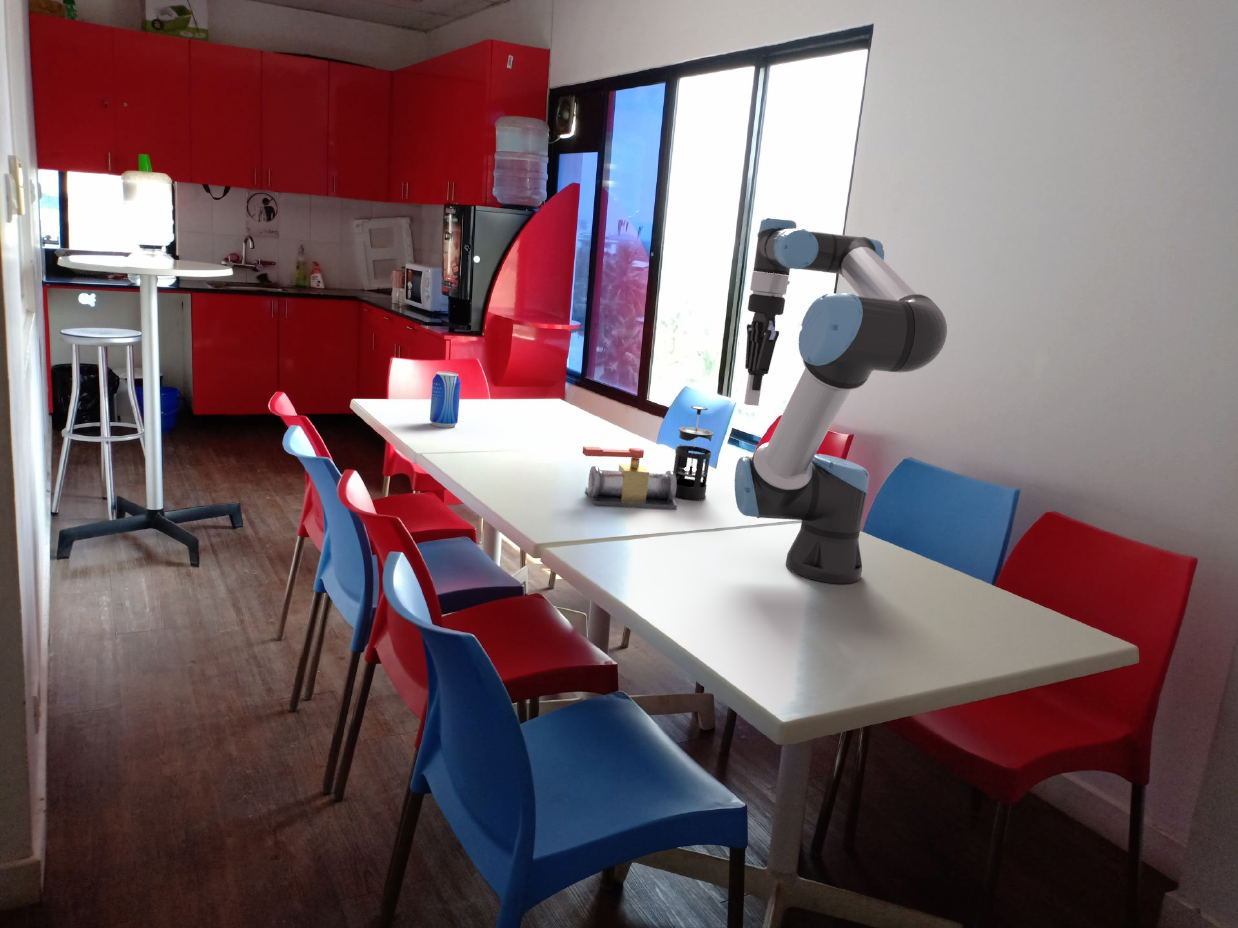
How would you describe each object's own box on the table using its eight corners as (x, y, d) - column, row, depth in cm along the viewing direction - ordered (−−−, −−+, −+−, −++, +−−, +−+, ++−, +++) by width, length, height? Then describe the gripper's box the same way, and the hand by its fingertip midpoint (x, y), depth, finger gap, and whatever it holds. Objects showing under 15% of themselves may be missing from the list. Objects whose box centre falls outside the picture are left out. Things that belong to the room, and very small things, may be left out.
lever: (639, 454, 224) (640, 448, 223) (645, 458, 221) (646, 451, 220) (581, 452, 219) (582, 446, 218) (586, 456, 215) (587, 449, 215)
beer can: (426, 422, 285) (430, 370, 281) (453, 422, 289) (457, 371, 285) (433, 428, 278) (437, 375, 274) (460, 428, 281) (464, 376, 278)
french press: (713, 501, 232) (726, 411, 227) (679, 501, 228) (692, 410, 223) (692, 488, 243) (704, 402, 237) (660, 488, 239) (671, 400, 234)
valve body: (663, 495, 232) (668, 455, 230) (676, 509, 221) (682, 467, 218) (585, 491, 227) (589, 449, 225) (594, 505, 216) (599, 461, 214)
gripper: (796, 298, 189) (778, 411, 195) (772, 294, 202) (756, 400, 207) (762, 294, 188) (745, 409, 193) (740, 290, 200) (725, 397, 205)
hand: (751, 404), depth 200 cm, fingers closed
